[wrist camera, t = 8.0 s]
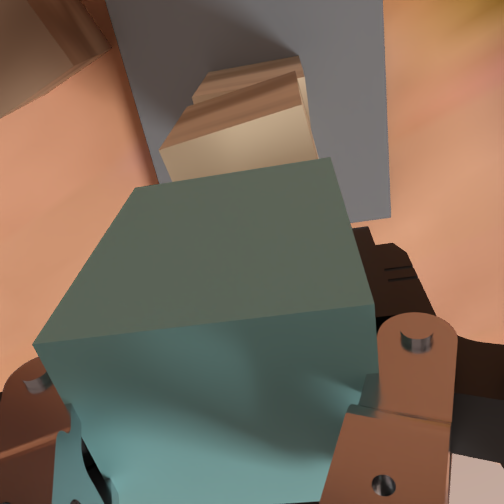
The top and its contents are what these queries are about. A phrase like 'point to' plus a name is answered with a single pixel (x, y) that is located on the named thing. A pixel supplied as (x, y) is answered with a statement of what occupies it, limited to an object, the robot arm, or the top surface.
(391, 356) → the robot arm
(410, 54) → the top surface
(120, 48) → the slate board
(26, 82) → the walnut block
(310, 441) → the teal block
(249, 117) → the tower top block
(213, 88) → the tower base block
